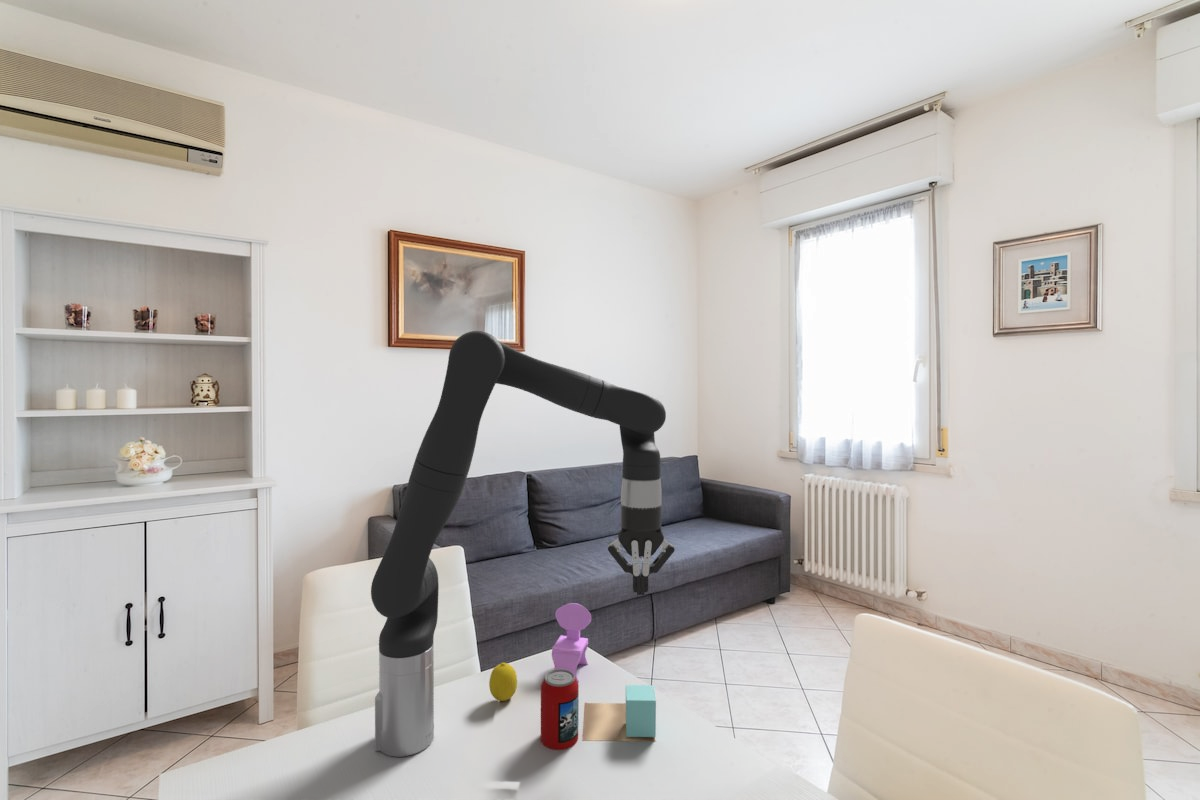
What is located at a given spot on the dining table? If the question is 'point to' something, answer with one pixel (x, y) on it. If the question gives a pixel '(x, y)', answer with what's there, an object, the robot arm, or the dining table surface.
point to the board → (607, 723)
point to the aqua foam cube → (640, 711)
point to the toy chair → (571, 637)
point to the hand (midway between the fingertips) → (640, 594)
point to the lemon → (503, 682)
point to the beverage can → (559, 710)
